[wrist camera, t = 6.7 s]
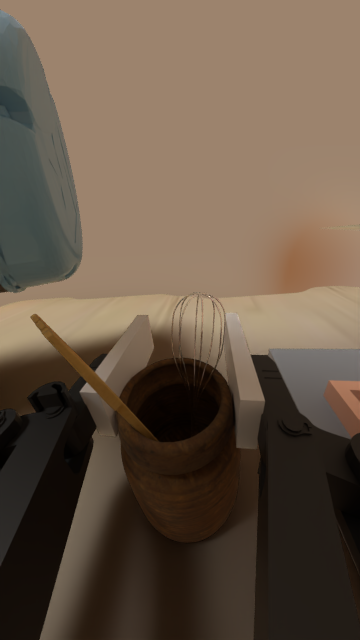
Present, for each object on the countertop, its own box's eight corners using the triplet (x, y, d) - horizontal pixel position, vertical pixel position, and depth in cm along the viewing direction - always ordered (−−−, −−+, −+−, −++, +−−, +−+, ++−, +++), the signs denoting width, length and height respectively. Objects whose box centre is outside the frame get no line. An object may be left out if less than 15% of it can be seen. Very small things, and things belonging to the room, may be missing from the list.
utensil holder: (257, 468, 11) (286, 266, 6) (186, 605, 7) (86, 391, 2) (185, 412, 15) (163, 260, 10) (115, 483, 11) (17, 299, 6)
